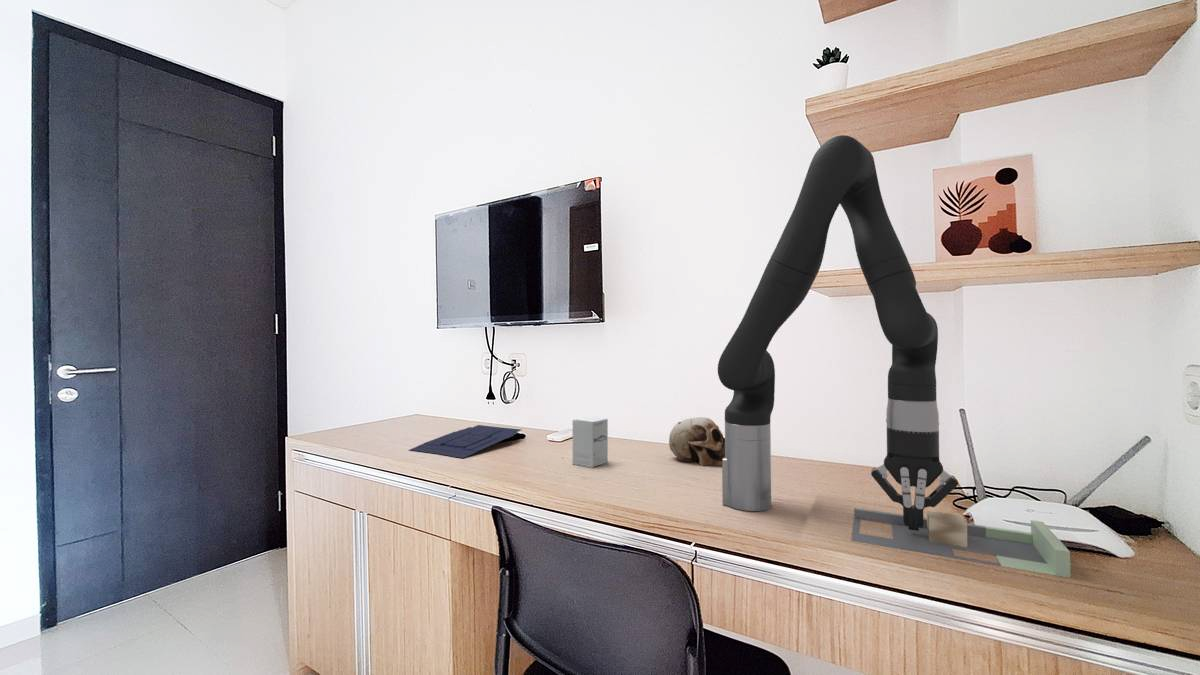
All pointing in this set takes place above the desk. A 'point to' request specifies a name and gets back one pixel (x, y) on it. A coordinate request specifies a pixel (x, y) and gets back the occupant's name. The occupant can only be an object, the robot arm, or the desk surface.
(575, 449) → the supplement box
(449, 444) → the navy blue folder
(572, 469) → the desk surface
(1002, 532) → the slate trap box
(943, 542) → the maple block
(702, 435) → the human skull
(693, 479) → the desk surface
